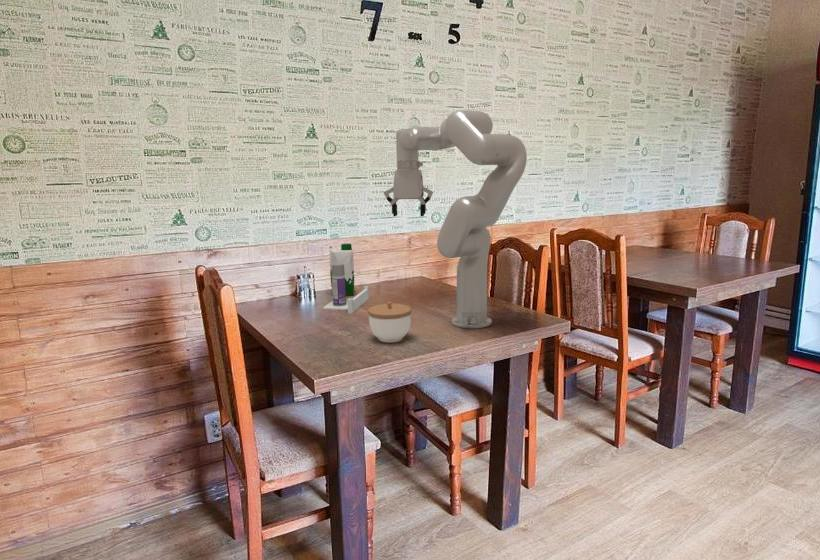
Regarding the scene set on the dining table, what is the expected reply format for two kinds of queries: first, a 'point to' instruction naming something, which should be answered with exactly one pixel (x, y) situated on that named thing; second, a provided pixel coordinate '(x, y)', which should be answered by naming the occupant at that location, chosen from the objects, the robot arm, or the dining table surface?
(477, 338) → the dining table surface
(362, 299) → the acrylic wall
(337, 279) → the container
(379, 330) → the lidded bowl
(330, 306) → the white pad
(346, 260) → the milk carton
